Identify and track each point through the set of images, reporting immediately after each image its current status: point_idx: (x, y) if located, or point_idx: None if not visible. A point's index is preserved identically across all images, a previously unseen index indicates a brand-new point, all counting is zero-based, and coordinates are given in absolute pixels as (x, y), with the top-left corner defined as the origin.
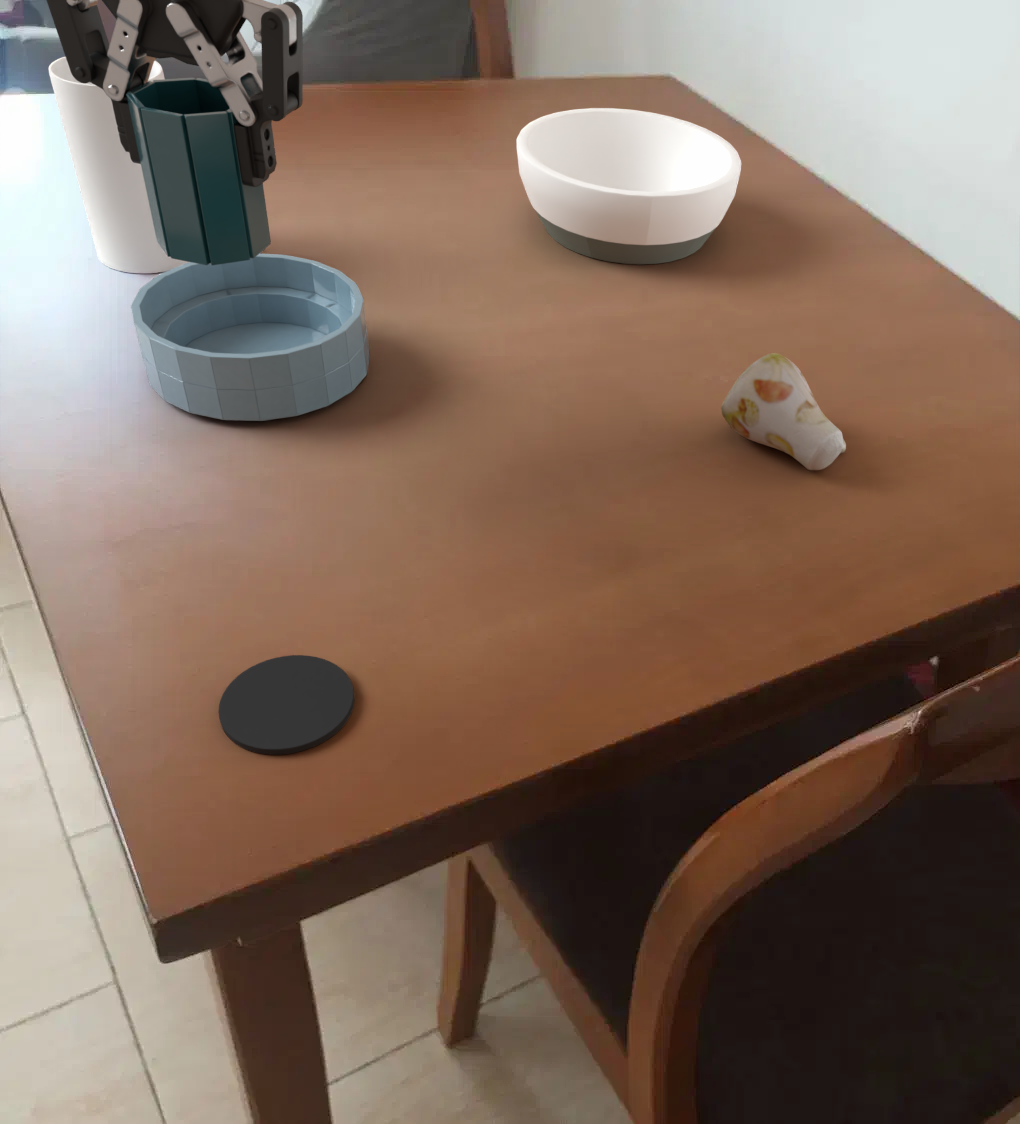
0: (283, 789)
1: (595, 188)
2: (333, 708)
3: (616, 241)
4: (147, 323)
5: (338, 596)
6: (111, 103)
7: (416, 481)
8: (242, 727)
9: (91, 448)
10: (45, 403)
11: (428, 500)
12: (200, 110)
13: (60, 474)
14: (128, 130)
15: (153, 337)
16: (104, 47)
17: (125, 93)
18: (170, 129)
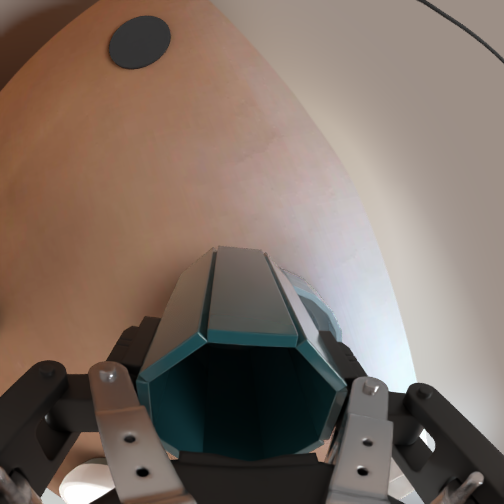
0: (132, 7)
1: (108, 488)
2: (116, 42)
3: (105, 465)
4: (330, 329)
5: (134, 117)
6: (392, 469)
7: (121, 234)
8: (154, 22)
9: (327, 224)
10: (367, 263)
11: (109, 216)
12: (261, 434)
13: (333, 195)
14: (337, 352)
15: (313, 296)
16: (402, 454)
17: (350, 390)
18: (235, 315)
